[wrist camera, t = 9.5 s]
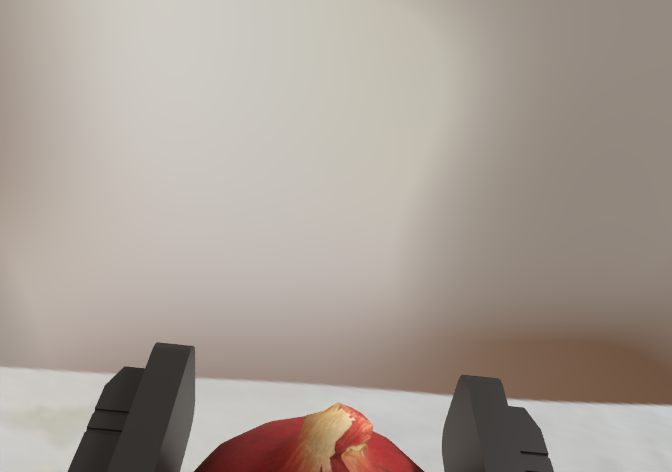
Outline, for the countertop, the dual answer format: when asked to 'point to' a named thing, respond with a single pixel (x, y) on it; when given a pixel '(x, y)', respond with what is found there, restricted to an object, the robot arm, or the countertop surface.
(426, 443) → the countertop surface
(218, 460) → the onion
